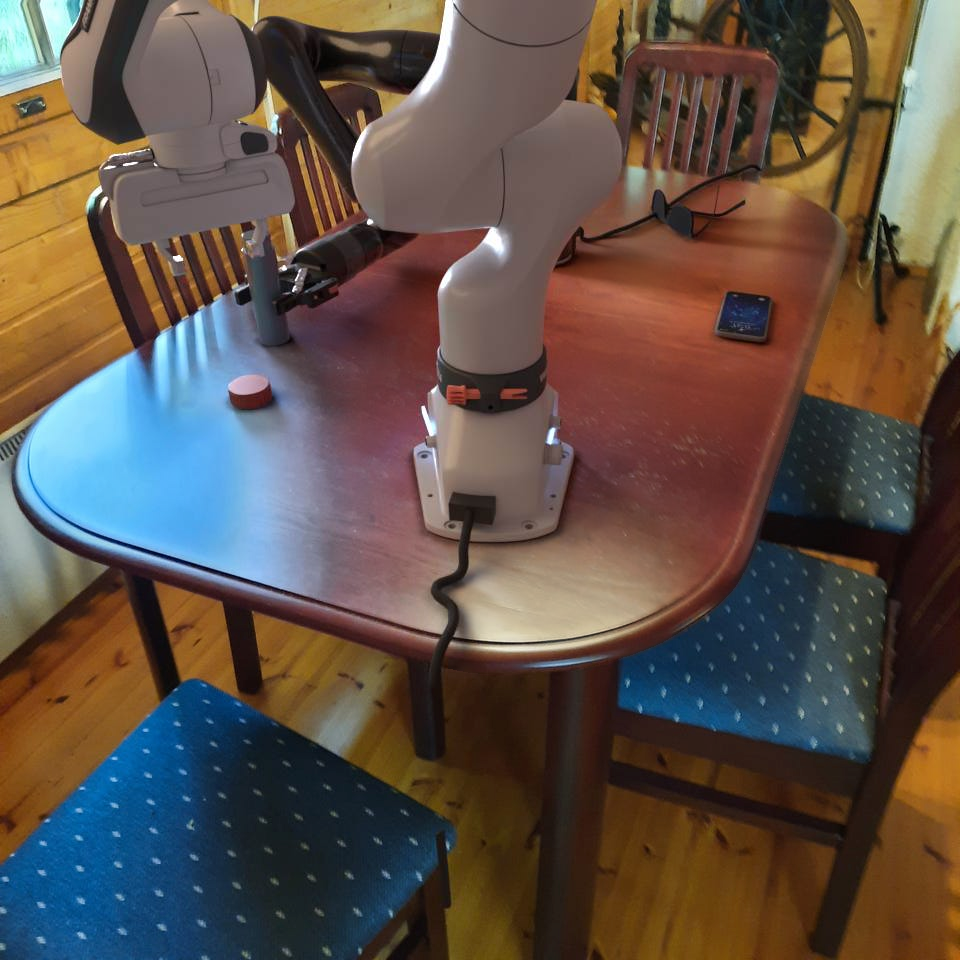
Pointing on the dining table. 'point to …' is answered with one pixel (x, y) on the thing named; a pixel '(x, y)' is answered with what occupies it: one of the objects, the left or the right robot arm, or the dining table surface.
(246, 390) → the lid
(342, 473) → the dining table surface
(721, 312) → the smartphone
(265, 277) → the bottle
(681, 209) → the sunglasses
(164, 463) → the dining table surface
